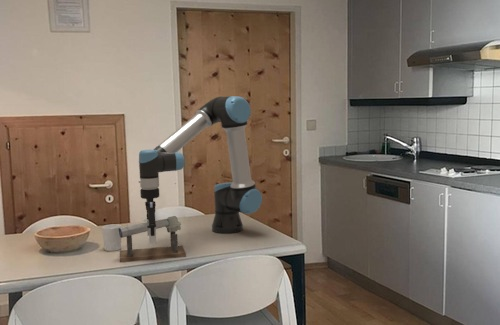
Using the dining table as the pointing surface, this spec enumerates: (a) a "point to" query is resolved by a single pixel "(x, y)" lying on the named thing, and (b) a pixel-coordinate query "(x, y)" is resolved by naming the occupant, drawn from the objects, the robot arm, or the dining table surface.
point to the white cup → (111, 237)
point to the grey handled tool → (169, 223)
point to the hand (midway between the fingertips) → (151, 239)
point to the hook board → (152, 251)
